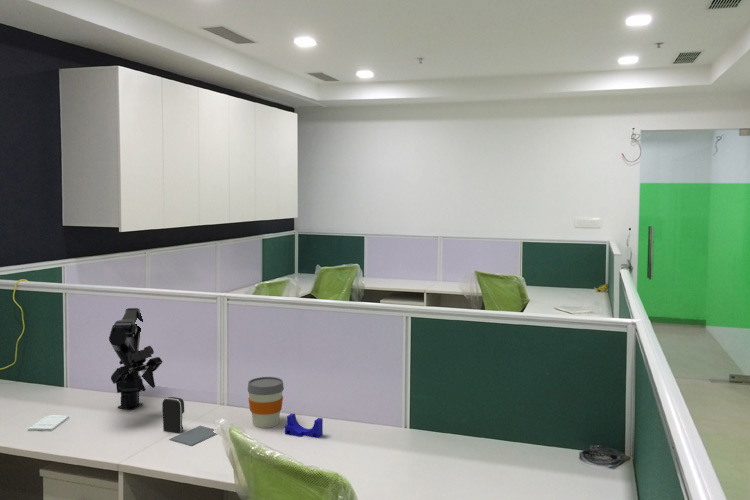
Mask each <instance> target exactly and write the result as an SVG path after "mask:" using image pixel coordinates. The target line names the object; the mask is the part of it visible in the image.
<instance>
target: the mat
mask: <svg viewBox="0 0 750 500" xmlns="http://www.w3.org/2000/svg"><path fill="white" fill-rule="evenodd" d="M214 429H215V428H210V427H206V426H202V425H198V426H195V427H193V428H192V429H189V430H187V431H184V432H181V433H179V434H178V435H175V436H173V437H171V438H169V439H168V440H169V441H173V442H175V443H179V444H183V445H187V446H189V447H193V446H195V445H197V444H199V443H201V442H203V441H205V440H208V439H210V438H212V437H214V436H216V435H217V434H216V433H214V432H213V431H214ZM215 434H216V435H215Z"/></svg>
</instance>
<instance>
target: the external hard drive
mask: <svg viewBox="0 0 750 500" xmlns="http://www.w3.org/2000/svg"><path fill="white" fill-rule="evenodd" d="M69 419H70V415H52V414H51V415H50V414H47V415H46V416H44V417H42V418H41V419H40V420H38V421H36V423H34V424H33V425H31V426H30V427H29V428H27V432H53V431H54V430H56V429H57V428H58V427H60V426H61V425H62V424H63V423H65V422H66V421H68V420H69Z"/></svg>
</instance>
